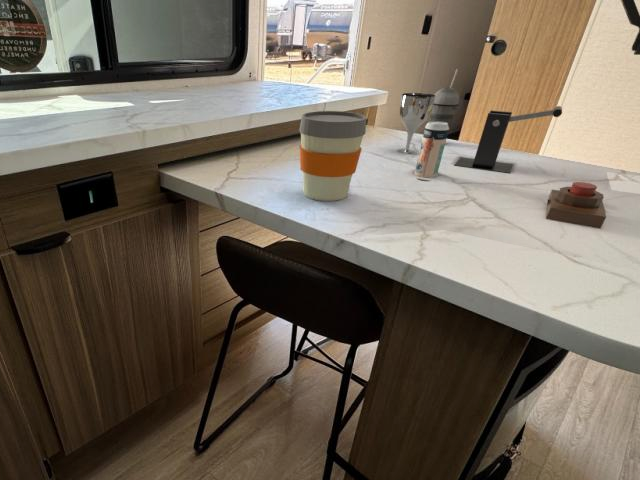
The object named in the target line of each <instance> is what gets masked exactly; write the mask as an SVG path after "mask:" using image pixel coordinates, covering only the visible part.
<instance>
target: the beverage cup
mask: <svg viewBox="0 0 640 480" xmlns="http://www.w3.org/2000/svg"><path fill="white" fill-rule="evenodd" d="M458 72H459V69H458V68H456V69H455V72H454V74H453V78H452V80H451V83H450V86H449V87H443V88H439V90H438V91H436V92H435V93H434V95H435V96H436V97H435V101H434V105H433V108H432V111H431V113H430V115H429V118H428V122H431V121H439V122H446V123H448V127H449V128H450V127H451V123H452V121H453V119H454V115H455V113H456V112H457V109H458V106H459V104H460V103H459V102H460V97H459V93H458V92H457V90H456V89H455V88H453V86H454V83H455V80H456V77H457V74H458Z"/></svg>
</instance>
